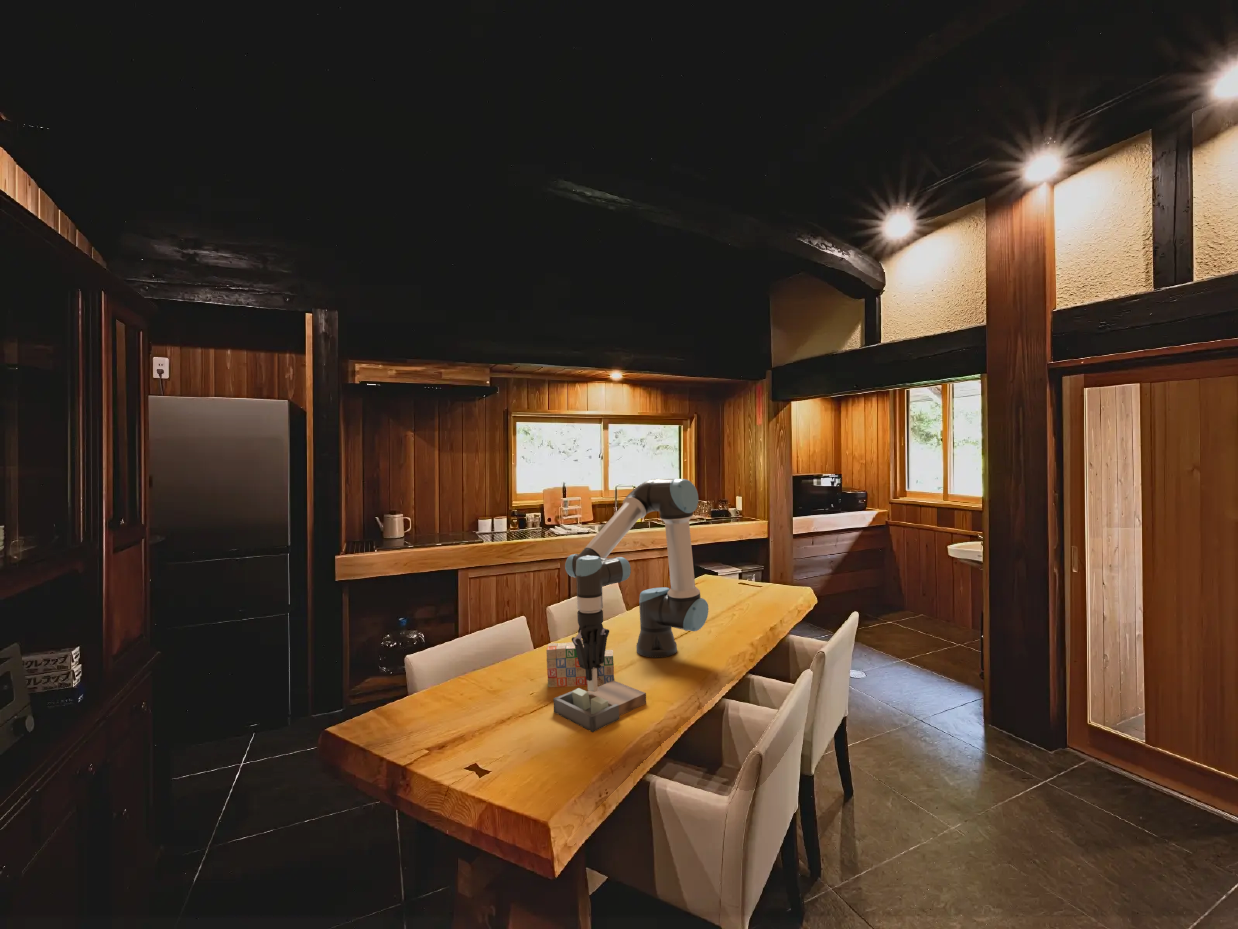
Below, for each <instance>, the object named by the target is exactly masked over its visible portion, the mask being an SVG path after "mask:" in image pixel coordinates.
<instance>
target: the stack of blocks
mask: <svg viewBox="0 0 1238 929" xmlns="http://www.w3.org/2000/svg"><path fill="white" fill-rule="evenodd" d="M582 644H583V641H582ZM583 647H584V645H583ZM600 665H601V667H600V668H598V671H599V676H598V678H597V686H601V685H604V684H606V683H608V682H611V681H613V680H614V681H615V668H614V667H615V664H614V650H613V649H605V657H604V662H603V664H600ZM546 670H547V671H546V672H547V673H546V674H547V687H548V688H559V687H560V688H561V687H563V688H564V687H583V686H588V681H587V680H586V670H585V669H583V668H581V667H580V666H579V662H578V657H577V653H576V649H575V645H574V643H573V642H572V641H571V642H570V641H569V642H559V643H558V642H556V643H555V642H553V643H548V644H547V648H546Z"/></svg>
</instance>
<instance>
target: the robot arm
mask: <svg viewBox="0 0 1238 929" xmlns="http://www.w3.org/2000/svg"><path fill="white" fill-rule="evenodd" d="M698 504H699V493H698V490H697V488H696V485H695V484H694V483H693V482H692V481H691V480H689V479H687V478H678V477H677V478H651V479H648V480H646V481H644V482H642V483H641V484H639V485H638V486H636V487H635V488H634V489H633V490H631V491H630V492H629V493H628V494H627V496H626V497H625V498H624V499H623V502H622V505H621V507H620V508H619V509H618V510H617V511H616V512H615V513H614V514H613V515H612V517H610V519H609V520H608V521H607V522H606V523H605V524H604V526H603V527H602V528H601V529H600V530H599V531H598V533H597V534H596V535H595V536H594V537H593V538H592V539H591V540H590V541H589V543H587V545H586V546H585V547H584V548H583V549H582V550H581V551H580V553H574V554H573V553H572V554H570V555H568V556H567V558H566V561H565V563H564V568H565V572H566V574H567V575H568V576H569V577H571V578H574V579H575V578H576V579H575V581H576V601H577V602H576V609H577V610H578V611H577V612H576V613H577V624H578V630H577V634H576V636H575V637H573V636H572V638H571V642H573V643H574V645H575V649H576V653H577V657H578V662H579V666H580V667H581V668H583V669H585V670H586V680H587V681H588V685H587V691H589V690H590V691H592V692H595V691H598V687H599V686H598V685H597V678H598V676H599V671H598V668H600V667H601V665H600V664H603V662H604V657H605V650H607V643H608V642H607V640H608V636H609V634H610V629H608V628H604V625H603V622H604V610H603V608H604V602H603V600H604V599H603V598H604V597H603V587H607V586H610V585H614V584H620V583H621V582H625V581H626V580H628V579H629V578H630V576H631V572H632V571H631V564H630V562H629V561H628V559H627V558H625V557H623V556H618V557H617V556H614V557H613V558H610V557H608V556H609V555H610V554H611V553H612V551H613V550H614V549H615V548H616V547H617V546H618V545H619V543H620V542H621V541H622V539H623V538H624V537H626V535H627V534H628V532H629V531H630V530H631V529H632V528H633V527H634V526H635V524H636V523H637V522H638V521H639V520H640V519H643V518H645V516H646V515H647V514H649V513H652V512H658V513H659V519H660V520H662V522H664V527H665V538H666V547H667V560H668V568H669V569H668V570H669V579H670V580H669V581H670V588H669V587H665V586H664V587H653V588H648V589H645V590H642V591H641V592H639V593H640V594H639V601H638V603H639V604H638V605H639V622H640V623H639V624H640V625H639V628H640V630H639V635H638V639H637V642H636V646H635V648H636V653H637V654H638V655H640V656H643V657H648V658H666V657H671V656H672V655H675V654H676V653H677V652H678V646H677V642H676V641H675V635H674V633H673V631H672V628H674V629H679V630H684V631H687V632H688V631H690V632H697V631H700V630H701V629H702V628H703V627H704V625H705V623H706V621H707V618H708V615H709V603H708V601H707V600H706V599H704V598H703V597H701V590H700V589H699V588H698V587H697V586H696V581H695V580H696V579H695V570H694V559H693V549H692V538H691V528H690V527H691V526H690V521H691V518H692V517H693V516H694V512H695V511H696V510H697V509H698ZM582 642H583V644H582ZM583 645H584V647H583Z"/></svg>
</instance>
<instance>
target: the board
mask: <svg viewBox="0 0 1238 929" xmlns="http://www.w3.org/2000/svg"><path fill="white" fill-rule="evenodd" d="M597 687H598V691H595V692H592V691H590V690H586V691H587V692H588V693H589V700H590V704H591V699H592V698H595V697H597V696H598V697H600V698H602V699H605V700H607V701H608V707H610V706H612V705H614V704H617V705H619V717H620V716H623V715H624V714H626V713H629V712H631V711H633V710H635V709H637V708H640V707H642V706H644V705H645V704H647V693H646V692H644V691H642V690H640V689H636V688H634V687H631V686H630V685H629V686H628V685H626V684H623V683H621V682H618V681H616V680H615V679H614V680H613V681H611V682H608V683H606V684H604V685H598V686H597Z"/></svg>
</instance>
